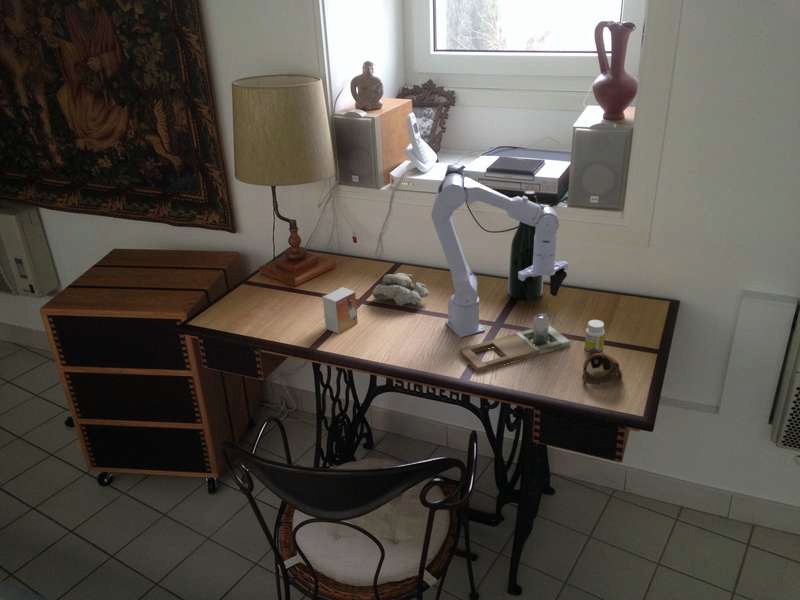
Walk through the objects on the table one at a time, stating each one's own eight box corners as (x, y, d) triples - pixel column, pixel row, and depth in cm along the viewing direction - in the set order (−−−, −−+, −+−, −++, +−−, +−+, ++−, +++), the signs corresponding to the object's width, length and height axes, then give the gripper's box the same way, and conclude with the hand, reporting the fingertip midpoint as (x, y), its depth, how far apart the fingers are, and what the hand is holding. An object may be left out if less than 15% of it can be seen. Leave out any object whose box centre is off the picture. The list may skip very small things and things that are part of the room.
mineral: (422, 309, 199) (427, 275, 199) (366, 301, 203) (370, 267, 203) (430, 309, 211) (434, 277, 211) (377, 301, 215) (381, 270, 215)
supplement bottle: (599, 345, 182) (602, 318, 178) (605, 355, 178) (608, 327, 174) (581, 346, 182) (584, 319, 178) (586, 356, 178) (589, 328, 174)
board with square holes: (459, 353, 181) (459, 348, 181) (547, 329, 191) (548, 323, 190) (477, 372, 173) (477, 367, 172) (569, 345, 183) (569, 340, 182)
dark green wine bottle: (526, 283, 216) (531, 183, 201) (549, 295, 208) (556, 192, 193) (500, 292, 212) (503, 190, 196) (523, 305, 204) (527, 200, 188)
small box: (338, 334, 193) (335, 302, 188) (325, 328, 197) (321, 296, 192) (358, 323, 198) (355, 291, 193) (345, 317, 202) (342, 286, 197)
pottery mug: (631, 387, 166) (625, 369, 160) (596, 404, 167) (588, 388, 161) (608, 352, 174) (601, 334, 169) (575, 369, 176) (566, 352, 170)
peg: (529, 341, 186) (531, 315, 182) (542, 337, 187) (543, 312, 183) (537, 348, 182) (539, 322, 179) (550, 344, 184) (552, 318, 180)
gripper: (529, 263, 174) (527, 310, 181) (576, 252, 179) (572, 298, 185) (514, 253, 180) (512, 299, 186) (560, 243, 185) (557, 287, 191)
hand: (541, 297), depth 186 cm, fingers open, 7 cm apart
